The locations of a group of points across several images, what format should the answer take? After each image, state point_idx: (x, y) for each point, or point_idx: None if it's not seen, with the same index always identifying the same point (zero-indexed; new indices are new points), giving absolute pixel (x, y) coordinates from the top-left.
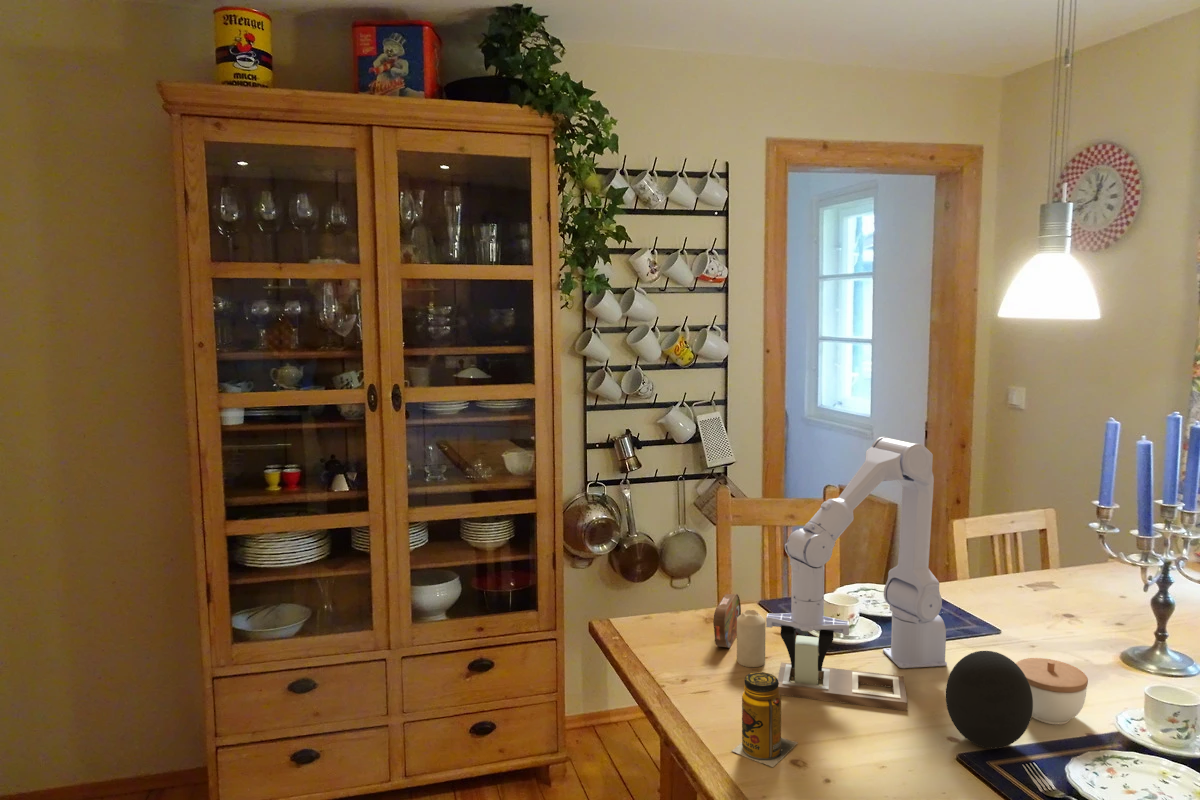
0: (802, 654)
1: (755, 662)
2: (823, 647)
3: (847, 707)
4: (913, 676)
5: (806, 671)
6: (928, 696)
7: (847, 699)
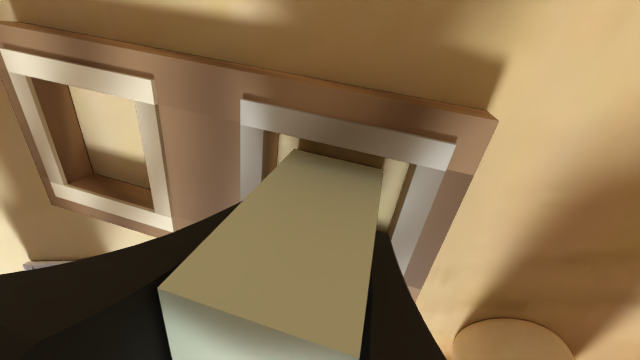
0: (314, 262)
1: (512, 335)
2: (118, 271)
3: (189, 18)
4: (69, 227)
5: (318, 191)
6: (8, 127)
7: (181, 56)
